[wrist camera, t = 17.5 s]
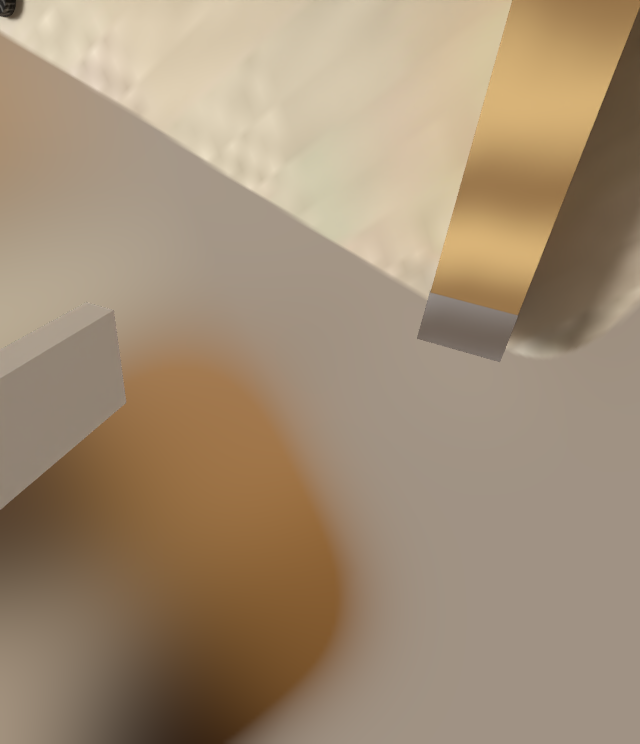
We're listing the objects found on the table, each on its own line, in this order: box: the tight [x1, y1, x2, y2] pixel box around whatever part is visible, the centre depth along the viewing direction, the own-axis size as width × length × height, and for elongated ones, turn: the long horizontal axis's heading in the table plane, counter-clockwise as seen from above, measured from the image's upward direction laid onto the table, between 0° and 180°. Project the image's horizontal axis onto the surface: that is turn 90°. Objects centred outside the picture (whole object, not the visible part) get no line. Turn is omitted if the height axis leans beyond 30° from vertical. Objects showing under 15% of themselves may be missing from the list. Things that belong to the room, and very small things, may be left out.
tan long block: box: [417, 0, 640, 362], centre depth 24 cm, size 18×5×5 cm, turn 172°
